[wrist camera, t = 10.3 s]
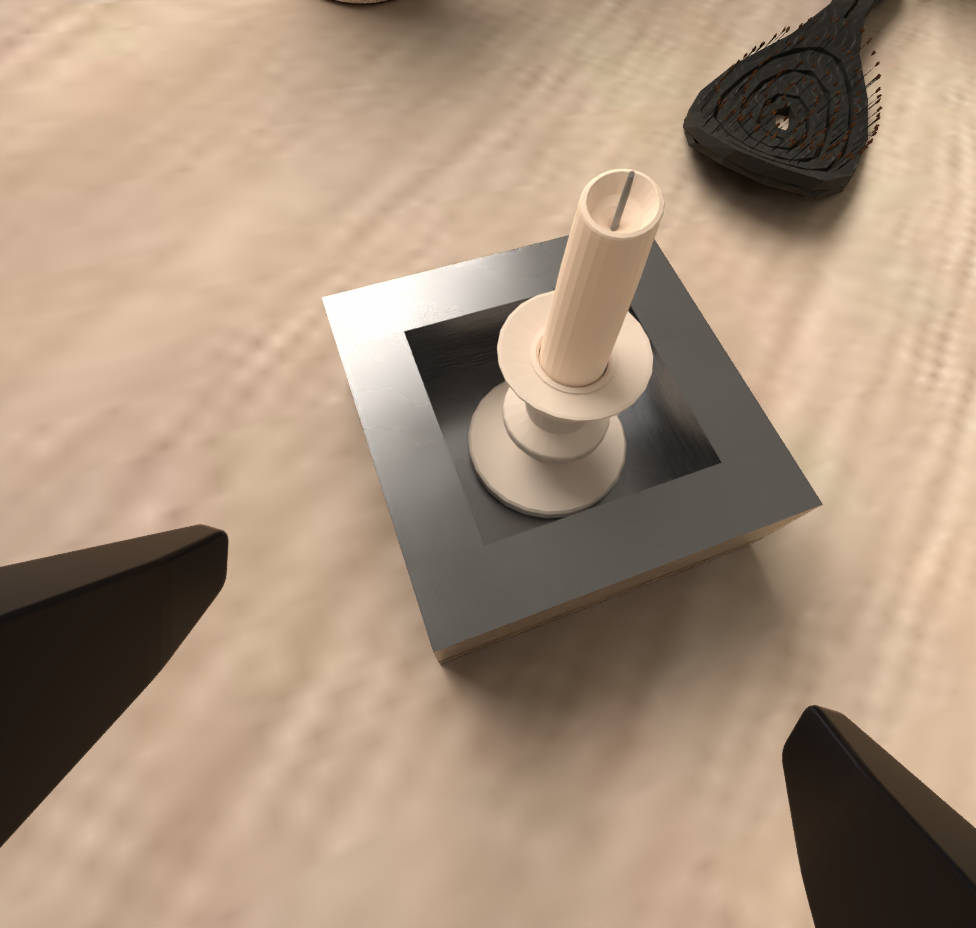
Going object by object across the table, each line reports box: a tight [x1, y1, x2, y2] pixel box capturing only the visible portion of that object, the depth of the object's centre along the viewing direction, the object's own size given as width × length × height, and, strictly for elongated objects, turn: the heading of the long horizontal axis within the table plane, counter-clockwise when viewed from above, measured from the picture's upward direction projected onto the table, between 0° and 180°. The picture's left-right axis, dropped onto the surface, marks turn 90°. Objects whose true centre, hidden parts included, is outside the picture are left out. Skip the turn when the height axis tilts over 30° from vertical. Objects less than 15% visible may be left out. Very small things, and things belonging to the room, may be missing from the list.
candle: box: [468, 169, 664, 518], centre depth 14 cm, size 5×5×10 cm
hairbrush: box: [683, 0, 882, 199], centre depth 28 cm, size 8×4×25 cm
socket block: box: [322, 235, 823, 664], centre depth 18 cm, size 11×11×4 cm
